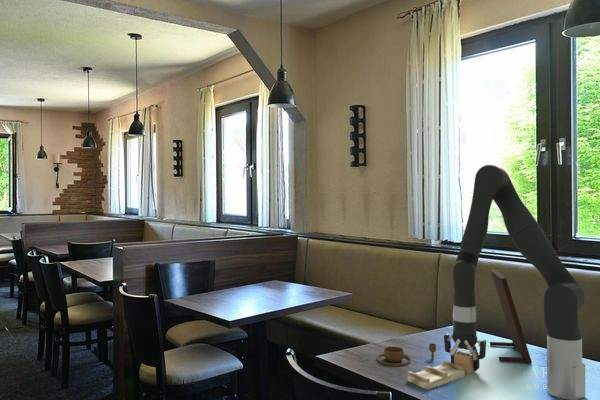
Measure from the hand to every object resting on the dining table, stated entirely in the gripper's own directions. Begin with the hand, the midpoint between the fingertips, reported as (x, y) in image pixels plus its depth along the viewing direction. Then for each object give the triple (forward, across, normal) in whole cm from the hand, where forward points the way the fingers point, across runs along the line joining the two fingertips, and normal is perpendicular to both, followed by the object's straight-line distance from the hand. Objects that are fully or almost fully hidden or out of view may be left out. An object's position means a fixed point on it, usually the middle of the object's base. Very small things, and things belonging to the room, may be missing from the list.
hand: (464, 367), depth 165 cm
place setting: (+2, +19, +5) cm, 20 cm away
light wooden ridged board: (+1, +4, +13) cm, 14 cm away
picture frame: (+1, -6, -27) cm, 28 cm away
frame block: (+1, 0, 0) cm, 1 cm away
